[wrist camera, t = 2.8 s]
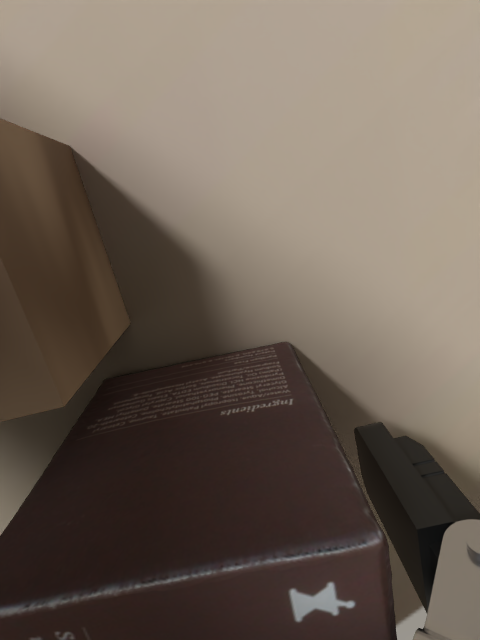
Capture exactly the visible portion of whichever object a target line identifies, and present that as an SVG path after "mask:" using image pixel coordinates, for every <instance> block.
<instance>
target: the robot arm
mask: <svg viewBox="0 0 480 640" xmlns="http://www.w3.org/2000/svg"><path fill="white" fill-rule="evenodd" d="M354 433H355V439H356V445H357V451H358V456H359V462H360V468H361V473H362V478H363V481H364V484H365V487H366V490H367V493H368V495H369V497H370V499H371V501H372V503H373V505H374V507H375V509H376V511H377V513H378V515H379V517H380V519H381V521H382V523H383V525H384V527H385V529H386V531H387V534H388V536H389V538H390V540H391V542H392V544H393V546H394V548H395V550H396V552H397V554H398V556H399V558H400V560H401V562H402V564H403V566H404V568H405V570H406V572H407V574H408V576H409V578H410V580H411V582H412V584H413V586H414V588H415V590H416V592H417V594H418V596H419V598H420V600H421V602H422V604H423V606H424V608H425V610H426V612H427V618H426V622H425V626H424V628H423V629H420V628H418V629H417V631H416V632H415V635H414V638H413V640H480V514H479V512H478V511H477V510H476V509H475V508H474V506H473V505H472V504H471V503H470V502H469V500H468V499H467V498H466V497H465V496H464V494H463V493H462V492H461V491H460V490H459V488H458V487H457V486H456V485H455V484H454V482H453V481H452V480H451V479H450V478H449V476H448V475H447V474H446V473H444V470H443V469H442V468H441V467H440V466H439V464H438V463H437V462H435V461H434V458H433V457H432V456H431V455H430V453H429V452H428V451H427V450H426V449H425V447H424V446H423V445H421V444H419V443H418V442H416V441H414V440H412V439H411V438H409V437H407V436H403V437H398V438H393V437H392V436H391V434H390V433H389V432H388V430H387V429H386V427H385V426H384V425H383V423H381V422H378V423H374V424H369V425H365V426H360V427H356V428H355V429H354Z"/></svg>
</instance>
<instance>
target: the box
mask: <svg viewBox="0 0 480 640" xmlns="http://www.w3.org/2000/svg"><path fill="white" fill-rule="evenodd" d="M391 581H392V573H391V567H390V559H389V546H388V543H387V539H386V536H385V534H384V532H383V531H382V529H381V527H380V526H379V524H378V522H377V520H376V518H375V516H374V514H373V512H372V510H371V508H370V506H369V504H368V502H367V500H366V497H365V495H364V493H363V491H362V488H361V486H360V484H359V482H358V480H357V478H356V476H355V473H354V471H353V468H352V466H351V464H350V463H349V461H348V459H347V457H346V455H345V453H344V450H343V448H342V446H341V444H340V442H339V440H338V437H337V436H336V434H335V432H334V430H333V428H332V426H331V424H330V422H329V419H328V417H327V415H326V413H325V411H324V409H323V407H322V405H321V403H320V401H319V398H318V396H317V395H316V393H315V391H314V389H313V387H312V385H311V383H310V381H309V379H308V377H307V376H306V374H305V372H304V370H303V368H302V366H301V364H300V361H299V360H298V357H297V355H296V353H295V351H294V348H293V347H292V345H291V344H290V343H288V342H281V343H277V344H273V345H269V346H263V347H258V348H254V349H248V350H244V351H240V352H234V353H229V354H225V355H222V356H215V357H210V358H206V359H201V360H197V361H192V362H186V363H181V364H177V365H172V366H169V367H162V368H158V369H152V370H148V371H144V372H139V373H135V374H130V375H124V376H120V377H115V378H109V379H105V380H104V381H103V383H102V385H101V386H100V387H99V389H98V391H97V392H96V394H95V396H94V397H93V398H92V400H91V401H90V403H89V404H88V406H87V407H86V408H85V410H84V412H83V413H82V415H81V416H80V417H79V419H78V421H77V422H76V424H75V425H74V426H73V428H72V430H71V431H70V433H69V435H68V436H67V437H66V439H65V440H64V442H63V443H62V445H61V446H60V448H59V449H58V451H57V452H56V454H55V455H54V457H53V458H52V460H51V462H50V463H49V465H48V467H47V468H46V470H45V471H44V473H43V474H42V476H41V477H40V479H39V480H38V482H37V483H36V485H35V486H34V487H33V489H32V490H31V492H30V494H29V495H28V497H27V498H26V499H25V501H24V502H23V504H22V505H21V507H20V509H19V510H18V512H17V513H16V515H15V516H14V517H13V519H12V520H11V522H10V523H9V525H8V526H7V527H6V529H5V530H4V531H3V533H2V534H1V536H0V640H397V636H396V624H395V614H394V600H393V592H392V583H391Z"/></svg>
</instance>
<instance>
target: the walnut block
mask: <svg viewBox="0 0 480 640" xmlns="http://www.w3.org/2000/svg"><path fill="white" fill-rule="evenodd" d="M130 324H131V323H130V320H129V317H128V314H127V311H126V308H125V305H124V302H123V299H122V296H121V294H120V291H119V288H118V285H117V282H116V279H115V276H114V273H113V270H112V267H111V264H110V262H109V259H108V256H107V253H106V250H105V247H104V244H103V241H102V238H101V235H100V232H99V229H98V227H97V224H96V221H95V218H94V215H93V212H92V209H91V206H90V203H89V200H88V197H87V194H86V192H85V189H84V186H83V183H82V180H81V177H80V174H79V171H78V168H77V165H76V162H75V159H74V157H73V154H72V151H71V148H70V146H68V145H66V144H63V143H60V142H58V141H55V140H53V139H50V138H48V137H45V136H43V135H40V134H38V133H35V132H33V131H30V130H28V129H25V128H23V127H20V126H18V125H15V124H13V123H10V122H7V121H5V120H2V119H0V422H2V421H6V420H11V419H15V418H19V417H23V416H27V415H32V414H36V413H40V412H44V411H48V410H52V409H57V408H61V407H65V405H66V404H67V403H68V402H69V400H70V399H71V398H72V396H73V395H74V394H75V393H76V391H77V390H78V389H79V388H80V386H81V385H82V384H83V383H84V381H85V380H86V379H87V378H88V376H89V375H90V374H91V373H92V371H93V370H94V369H95V368H96V366H97V365H98V364H99V363H100V361H101V360H102V359H103V358H104V356H105V355H106V354H107V353H108V351H109V350H110V349H111V348H112V346H113V345H114V344H115V342H116V341H117V340H118V339H119V337H120V336H121V335H122V334H123V332H124V331H125V330H126V329H127V327H128V326H129V325H130Z"/></svg>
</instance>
